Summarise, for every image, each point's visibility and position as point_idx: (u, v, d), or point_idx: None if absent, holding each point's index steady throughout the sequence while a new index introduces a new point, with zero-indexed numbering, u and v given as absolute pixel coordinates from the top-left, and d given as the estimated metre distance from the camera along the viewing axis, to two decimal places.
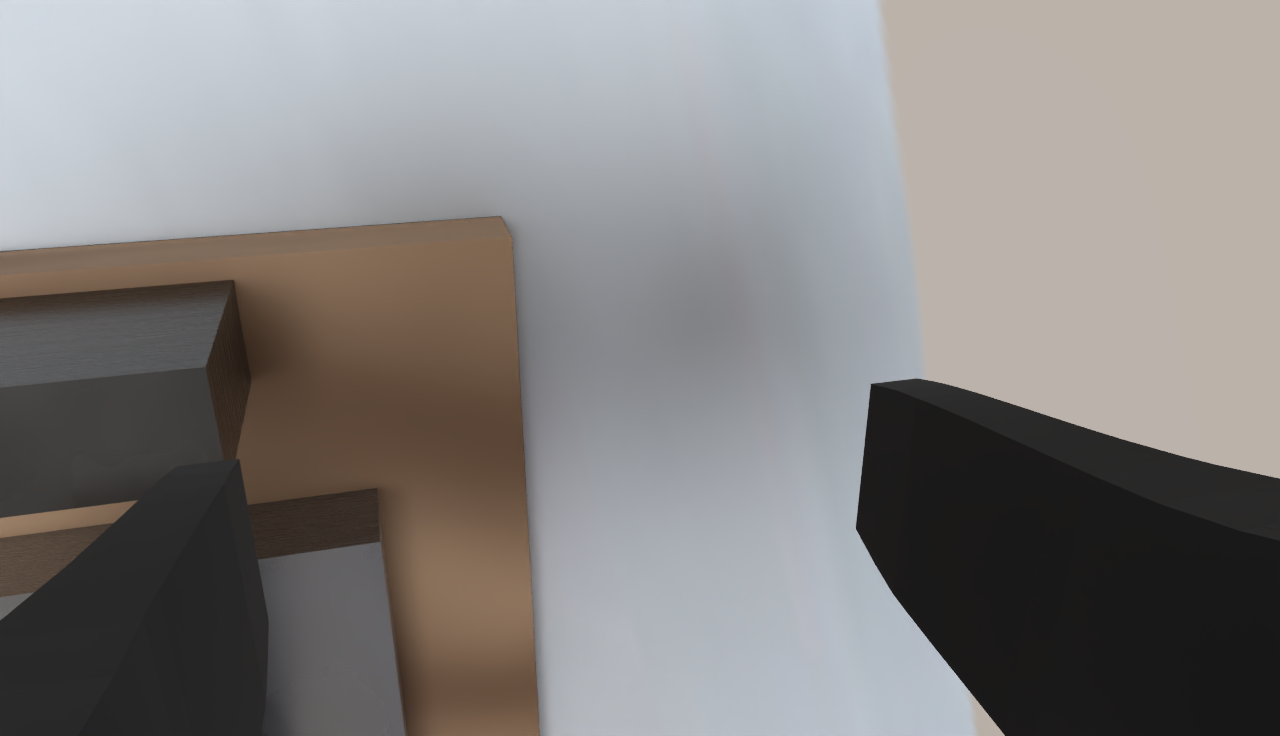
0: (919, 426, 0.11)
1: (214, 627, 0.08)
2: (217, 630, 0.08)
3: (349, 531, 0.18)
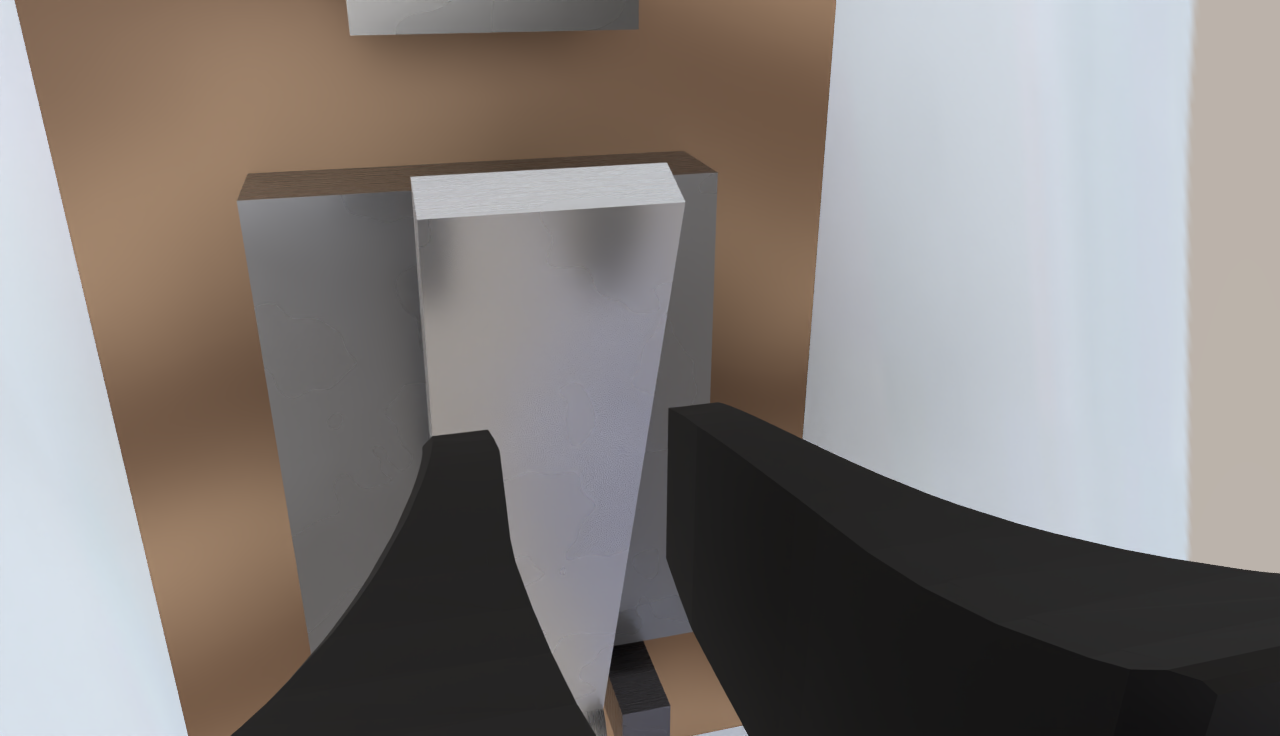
0: (700, 455, 0.10)
1: None
2: None
3: (679, 168, 0.18)
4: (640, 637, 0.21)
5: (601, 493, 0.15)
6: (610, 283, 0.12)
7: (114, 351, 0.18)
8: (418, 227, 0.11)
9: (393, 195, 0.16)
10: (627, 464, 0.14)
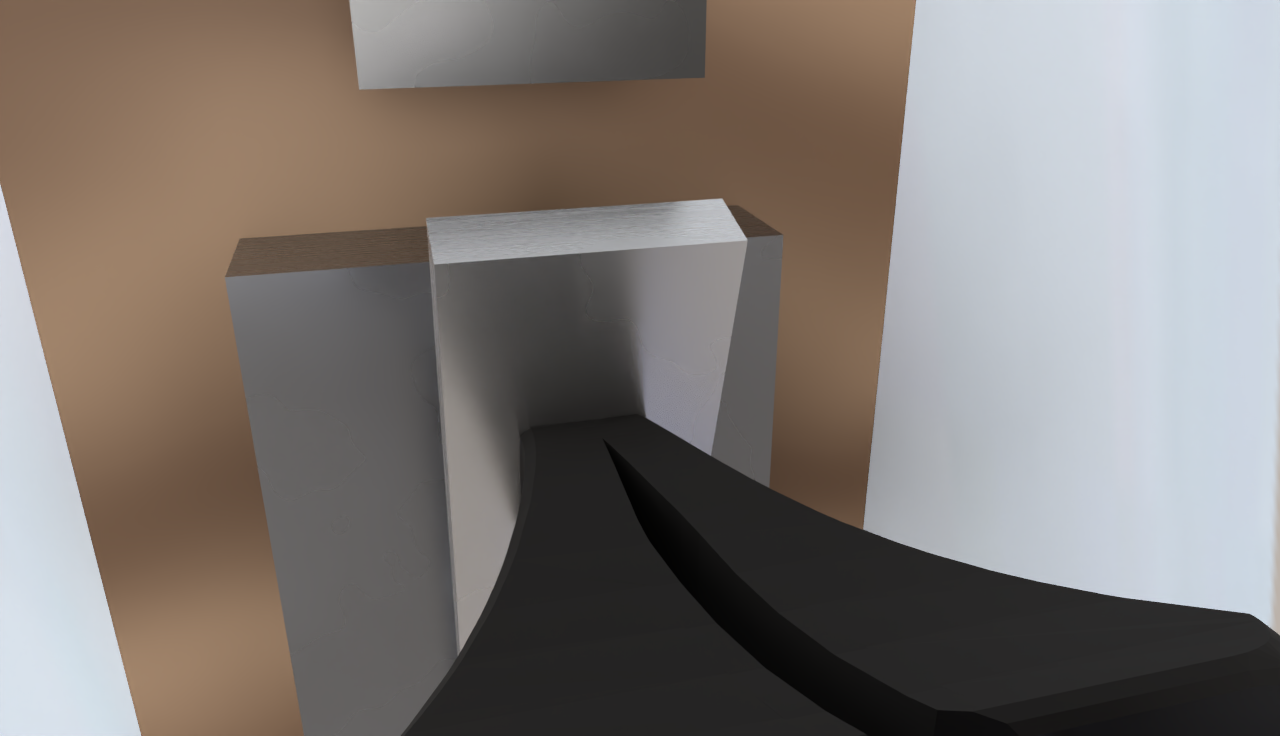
0: None
1: None
2: None
3: None
4: None
5: None
6: (661, 339, 0.10)
7: (86, 442, 0.15)
8: (436, 273, 0.09)
9: (408, 268, 0.14)
10: None
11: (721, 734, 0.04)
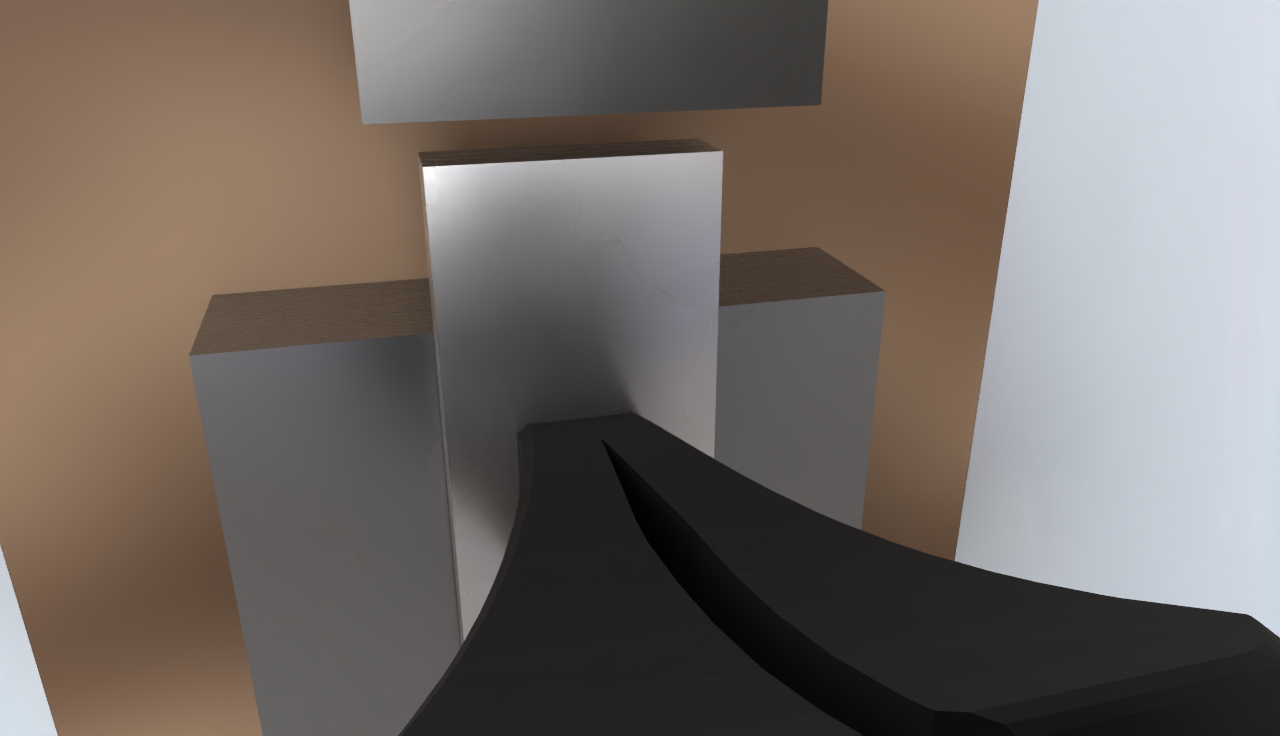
0: None
1: None
2: None
3: (827, 282, 0.13)
4: None
5: None
6: (649, 264, 0.10)
7: (24, 542, 0.13)
8: (424, 177, 0.09)
9: (424, 340, 0.11)
10: None
11: (717, 735, 0.04)
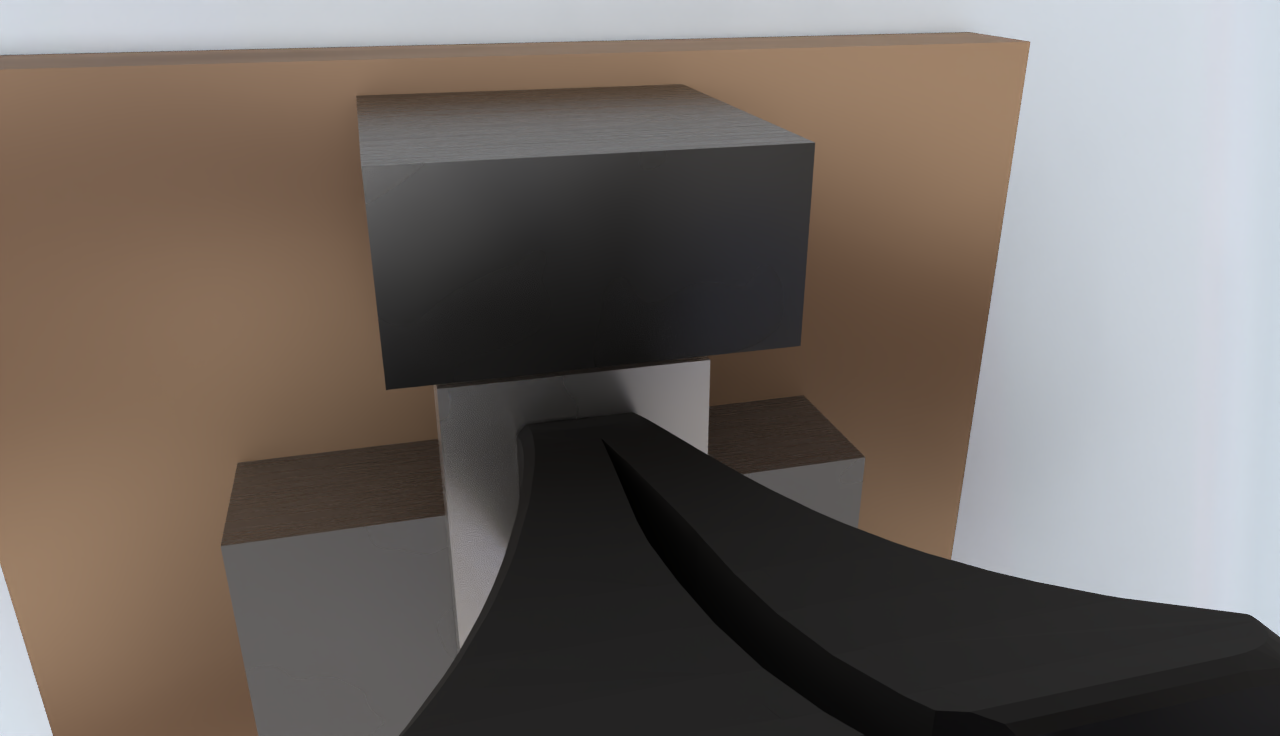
0: None
1: None
2: None
3: (811, 445, 0.13)
4: None
5: None
6: None
7: (61, 686, 0.13)
8: (438, 398, 0.10)
9: (436, 521, 0.12)
10: None
11: (718, 734, 0.04)
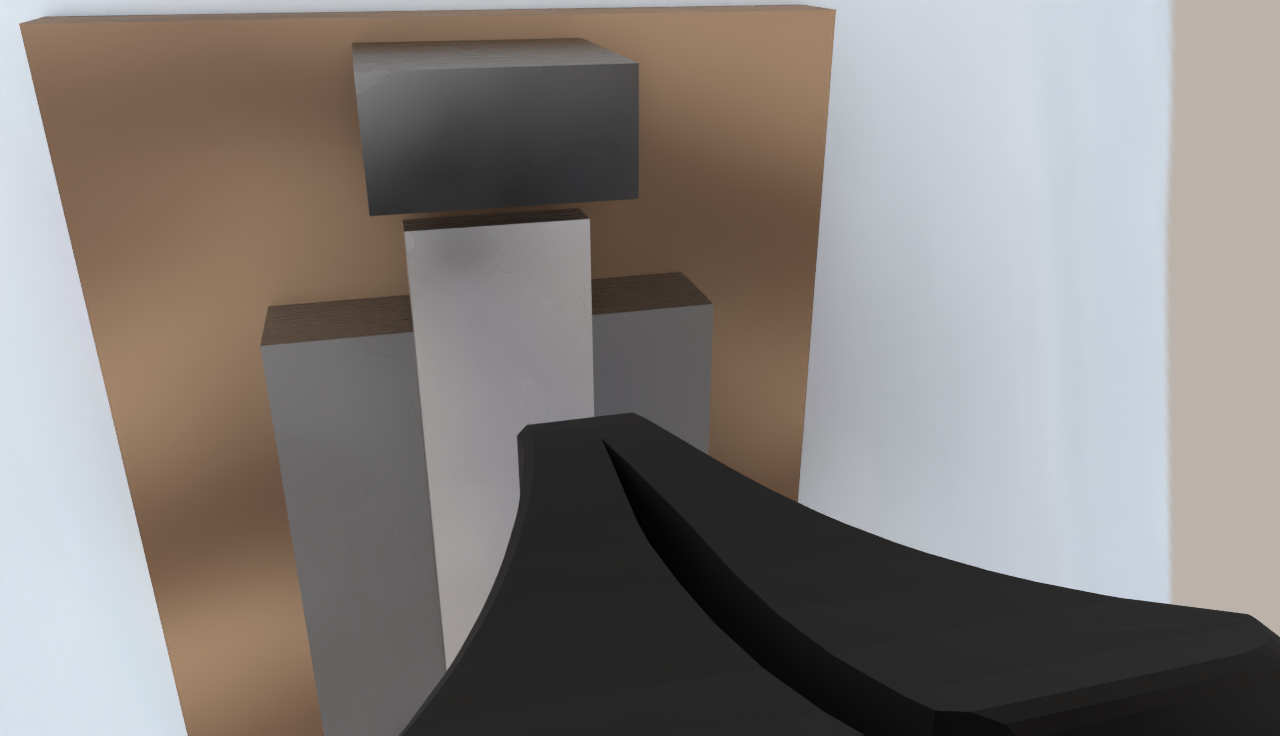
0: None
1: None
2: None
3: (677, 297, 0.19)
4: None
5: None
6: (545, 287, 0.17)
7: (141, 471, 0.19)
8: (405, 237, 0.16)
9: (407, 336, 0.17)
10: None
11: (718, 734, 0.04)
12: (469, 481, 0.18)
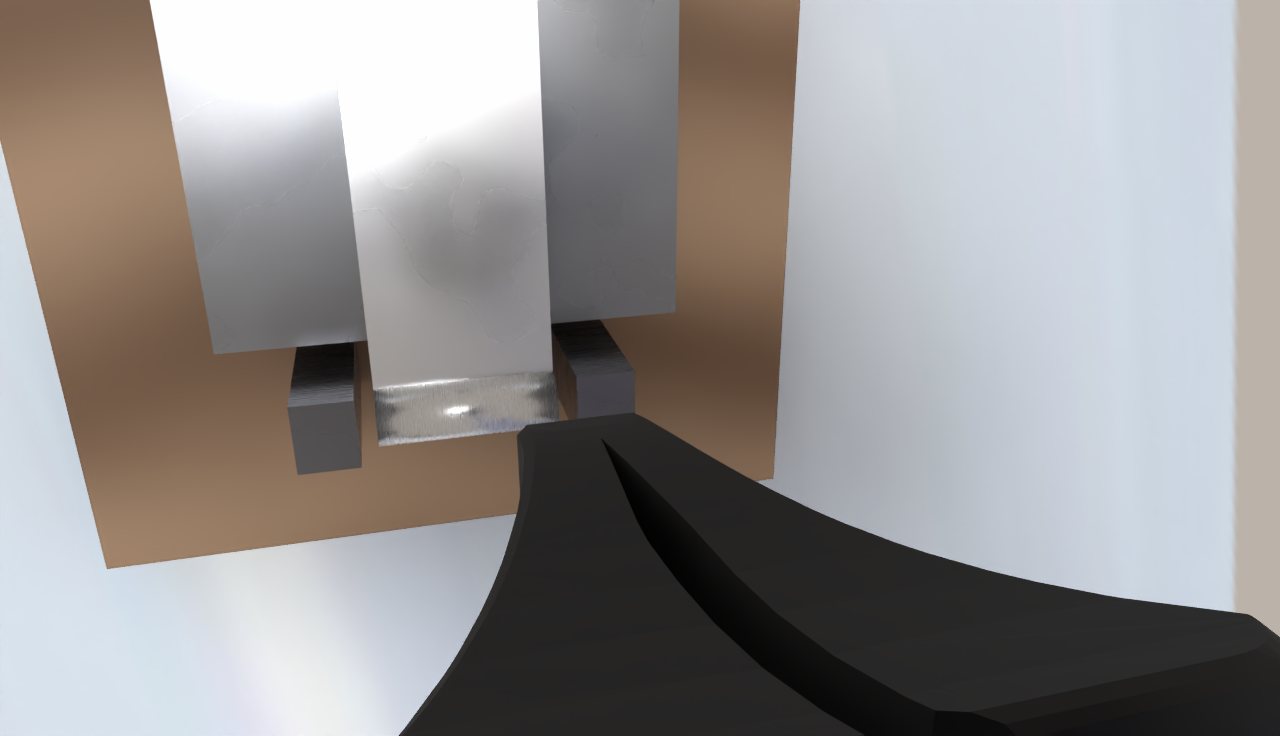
0: None
1: None
2: None
3: None
4: (602, 314, 0.18)
5: None
6: None
7: None
8: None
9: None
10: None
11: (718, 734, 0.04)
12: None
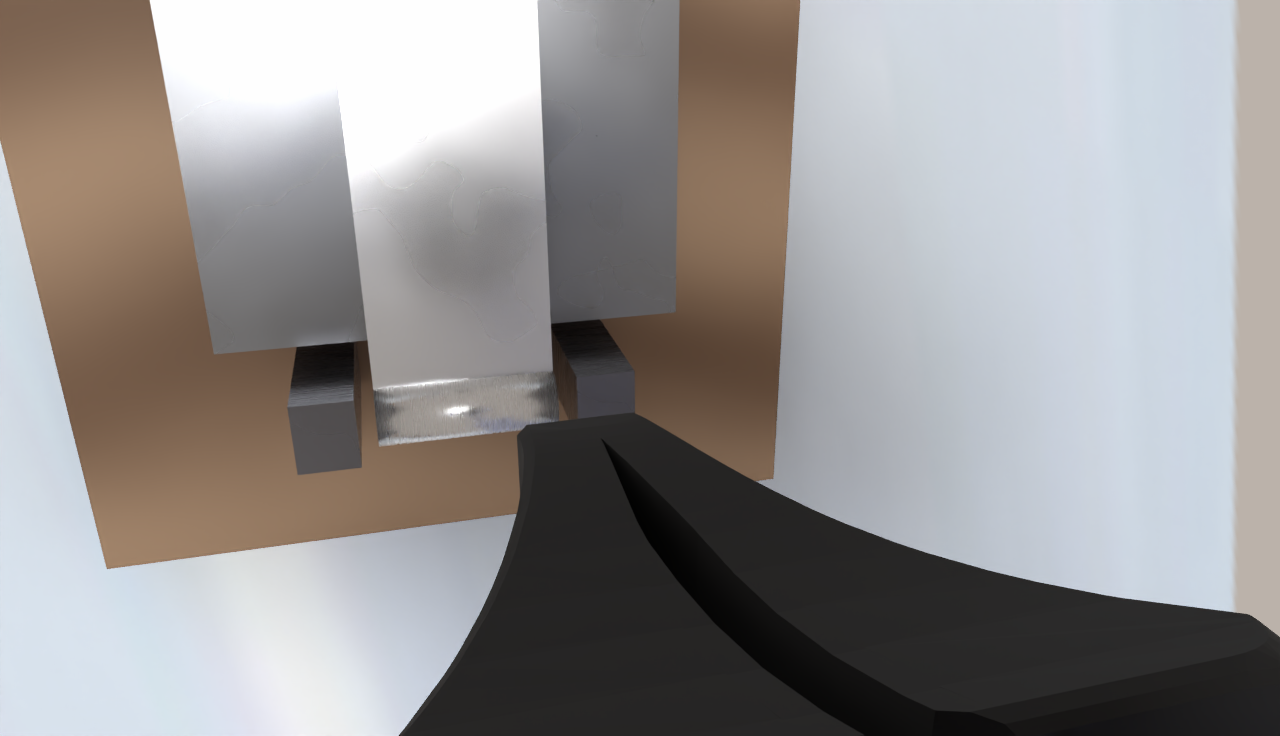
0: None
1: None
2: None
3: None
4: (602, 314, 0.18)
5: None
6: None
7: None
8: None
9: None
10: None
11: (718, 734, 0.04)
12: None
